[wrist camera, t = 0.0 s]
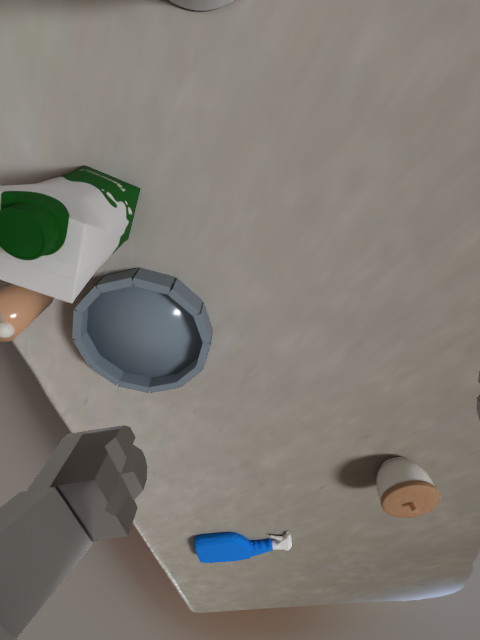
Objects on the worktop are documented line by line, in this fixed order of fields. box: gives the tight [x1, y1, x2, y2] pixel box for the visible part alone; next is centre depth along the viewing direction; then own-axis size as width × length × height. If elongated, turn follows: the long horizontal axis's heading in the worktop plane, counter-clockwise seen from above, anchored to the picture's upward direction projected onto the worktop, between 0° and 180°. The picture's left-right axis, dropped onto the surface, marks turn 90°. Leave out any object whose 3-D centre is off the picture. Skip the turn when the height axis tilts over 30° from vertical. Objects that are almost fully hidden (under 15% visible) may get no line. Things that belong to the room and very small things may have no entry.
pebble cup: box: [0, 283, 54, 342], centre depth 45 cm, size 6×6×10 cm
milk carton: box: [0, 166, 140, 303], centre depth 34 cm, size 9×9×20 cm
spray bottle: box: [194, 531, 292, 563], centre depth 85 cm, size 3×11×24 cm
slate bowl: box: [72, 268, 213, 393], centre depth 51 cm, size 20×20×4 cm
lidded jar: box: [376, 457, 440, 518], centre depth 66 cm, size 11×11×9 cm
